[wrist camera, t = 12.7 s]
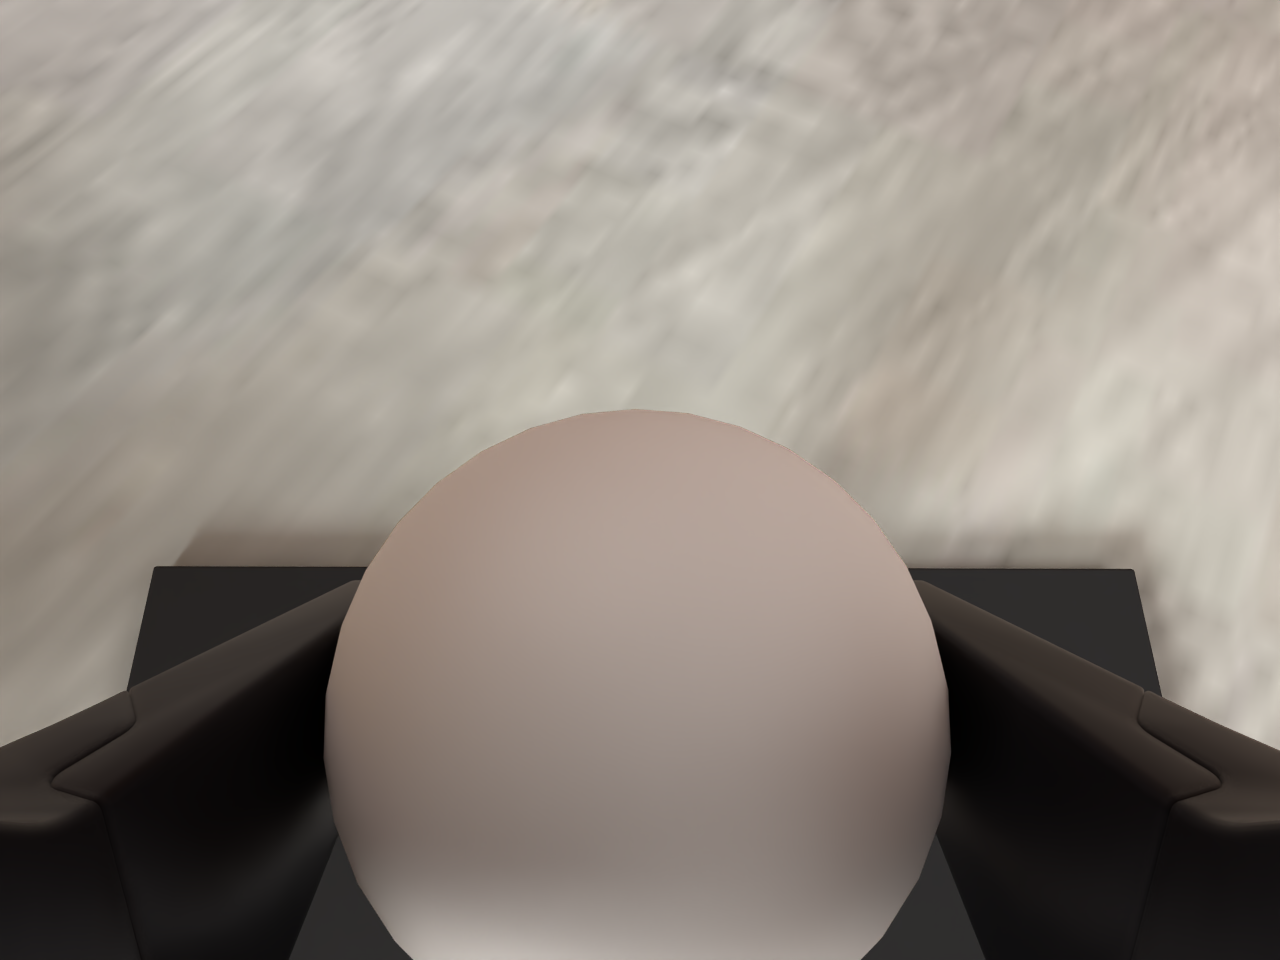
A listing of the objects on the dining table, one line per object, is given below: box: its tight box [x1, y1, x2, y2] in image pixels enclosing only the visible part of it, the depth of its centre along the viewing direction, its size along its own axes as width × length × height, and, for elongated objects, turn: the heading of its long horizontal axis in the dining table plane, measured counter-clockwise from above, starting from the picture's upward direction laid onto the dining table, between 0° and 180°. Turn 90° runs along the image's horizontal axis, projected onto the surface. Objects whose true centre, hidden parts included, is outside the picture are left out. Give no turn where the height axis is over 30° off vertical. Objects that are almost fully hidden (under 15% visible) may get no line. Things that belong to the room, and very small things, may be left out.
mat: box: [127, 566, 1162, 960], centre depth 16 cm, size 14×20×1 cm
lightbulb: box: [324, 409, 951, 960], centre depth 12 cm, size 6×6×11 cm
